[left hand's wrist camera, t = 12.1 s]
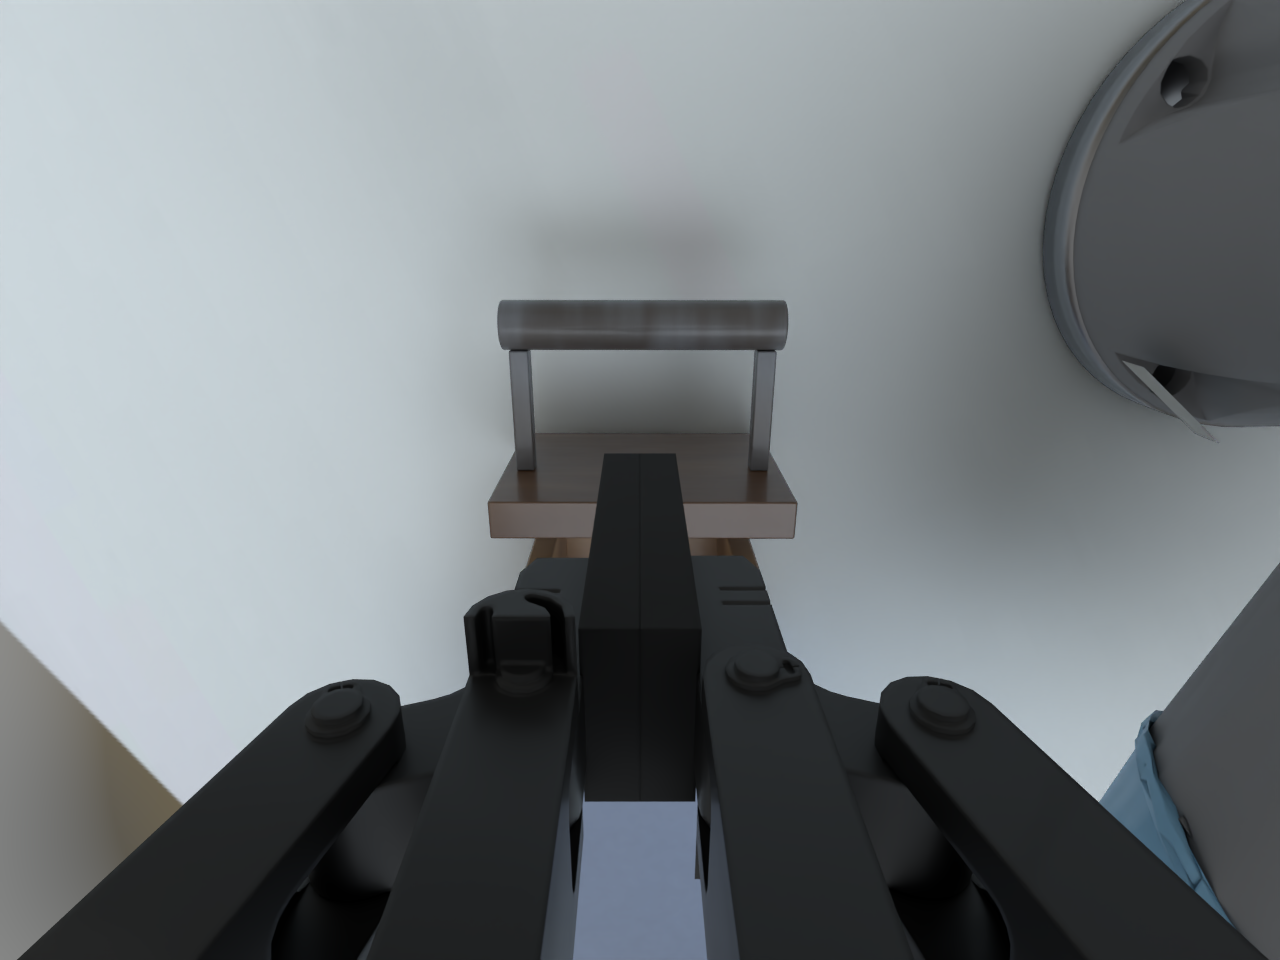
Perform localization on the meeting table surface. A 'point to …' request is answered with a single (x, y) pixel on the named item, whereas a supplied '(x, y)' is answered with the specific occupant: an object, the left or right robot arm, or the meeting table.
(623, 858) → the cabinet
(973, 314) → the meeting table surface
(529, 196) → the meeting table surface
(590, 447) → the drawer
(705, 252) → the meeting table surface
